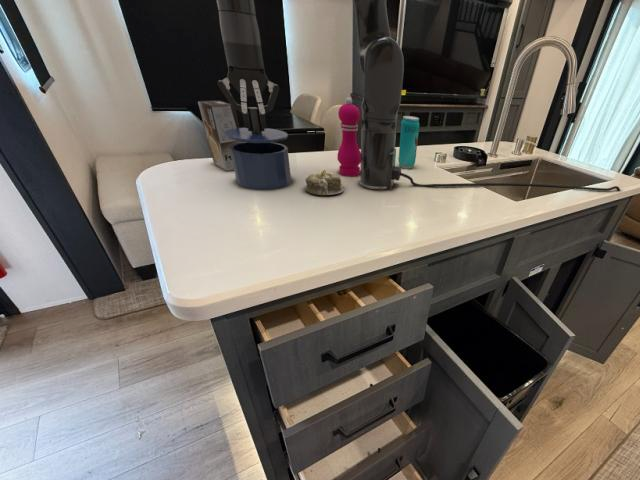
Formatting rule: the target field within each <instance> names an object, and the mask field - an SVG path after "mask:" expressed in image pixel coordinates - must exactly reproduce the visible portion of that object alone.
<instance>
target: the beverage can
mask: <svg viewBox="0 0 640 480" xmlns="http://www.w3.org/2000/svg"><path fill="white" fill-rule="evenodd" d="M419 131H420V118H419V117H417V116H412V115H411V116H410V115H403V116H402V120H401V125H400V136H399V149H398V165H399V167H401V169H404V170H405V169H406V170H411V169H413V168H414V166H415V164H416V159H417V149H418V139H419Z"/></svg>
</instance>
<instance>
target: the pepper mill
mask: <svg viewBox="0 0 640 480" xmlns="http://www.w3.org/2000/svg"><path fill="white" fill-rule="evenodd" d="M337 115H338V119H339V120H340V122H341V123H340V130H341V133H342V137H341V138H342V139H341V143H340V146H339V149H338V151H337V157H336V158H337V162H338V163H339V164H340V165H339V167H338V169H339V174H340V175H342V176H346V177H347V176H348V177H356V176H358V175H359V176H360V175H361V173H360V169H361V166H359V165H361V149H360V147H359V145H358V141H357V131H358V130H359V124H358V122H359V121H360V120H361V111H360V109H359V107H357V106H356V105H355V104H353V98H352V97H350V96H348V97H346V98H345V103H344V104H342V105H341V106H340V107H339V108H338V113H337Z"/></svg>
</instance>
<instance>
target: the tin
mask: <svg viewBox="0 0 640 480" xmlns="http://www.w3.org/2000/svg"><path fill="white" fill-rule="evenodd" d="M230 153H231V157H232V162H233V167H234V170H233V171H234V175H235V179H236V182H237V184H238V185H239V186H240V187H243V188H244V189H249V190H255V191H256V190H257V191H269V190H277V189H282V188H285V187H288V186H290V185H291V184H292V175H291V164H290V156H289V147H288V146H287V145H285V144H282V143H278V142H271V143H248V142H242V143H236V144H234V145H231V146H230Z"/></svg>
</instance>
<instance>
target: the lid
mask: <svg viewBox="0 0 640 480" xmlns="http://www.w3.org/2000/svg"><path fill="white" fill-rule="evenodd" d="M247 112H248V114H249V119H250V125H251V131H248V128H245V127H239V128H236V129H230V130H227V131H225V133H224V134H225V136H226V137H227V138H229V139H233V140H237V141H241V142H248V143H271V142H273V143H277V142H281V141H284V140H287V139H288V138H289V135H288V132H286V131H284V130H280V129H276V128H275V129H274V128H268V127H267V128H266V129H264V130H265V131H261V124H260V118H259V108H258V107H256V106H247Z"/></svg>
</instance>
